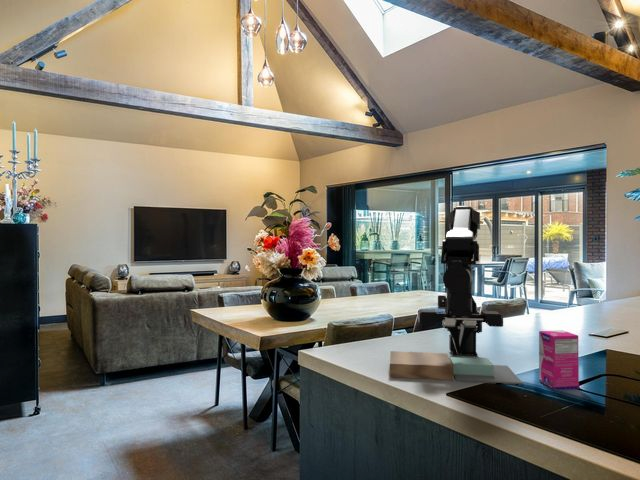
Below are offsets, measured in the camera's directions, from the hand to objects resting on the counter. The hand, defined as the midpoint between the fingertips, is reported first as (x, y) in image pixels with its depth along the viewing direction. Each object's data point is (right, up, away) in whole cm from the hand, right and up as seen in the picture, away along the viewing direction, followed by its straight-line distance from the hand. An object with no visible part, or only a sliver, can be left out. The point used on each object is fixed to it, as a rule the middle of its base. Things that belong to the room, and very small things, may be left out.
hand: (459, 354), depth 108 cm
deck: (-9, -4, +2) cm, 10 cm away
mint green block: (+3, -3, 0) cm, 4 cm away
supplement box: (+19, -5, -9) cm, 21 cm away
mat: (+5, -4, -1) cm, 7 cm away
